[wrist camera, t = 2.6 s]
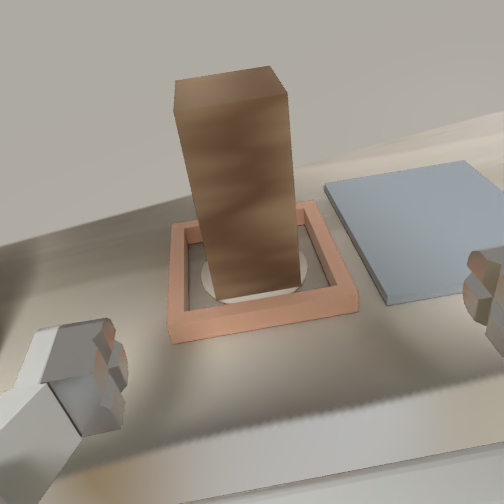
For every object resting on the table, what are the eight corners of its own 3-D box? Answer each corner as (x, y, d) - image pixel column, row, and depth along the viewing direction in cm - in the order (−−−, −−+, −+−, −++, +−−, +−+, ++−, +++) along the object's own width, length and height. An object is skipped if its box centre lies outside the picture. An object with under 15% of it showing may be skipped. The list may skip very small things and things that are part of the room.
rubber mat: (387, 305, 22) (387, 296, 21) (324, 191, 31) (324, 183, 31) (585, 271, 22) (589, 261, 22) (462, 167, 32) (464, 160, 31)
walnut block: (216, 301, 23) (173, 111, 17) (212, 251, 27) (175, 80, 21) (301, 286, 23) (287, 93, 17) (285, 238, 27) (269, 65, 21)
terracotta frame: (172, 344, 21) (166, 326, 21) (175, 239, 29) (171, 223, 28) (358, 311, 22) (358, 293, 21) (314, 215, 29) (313, 199, 28)
